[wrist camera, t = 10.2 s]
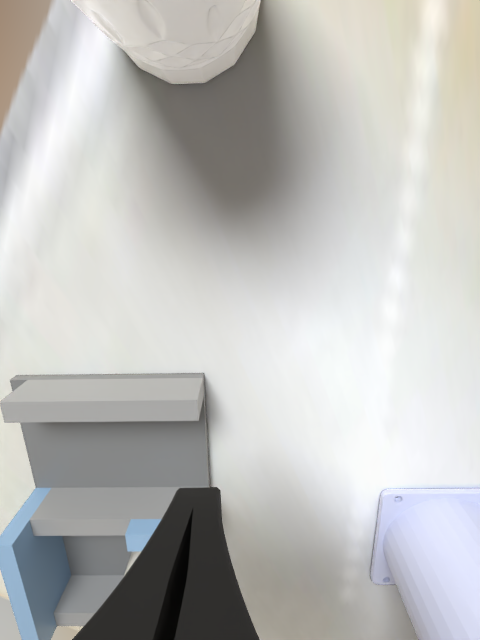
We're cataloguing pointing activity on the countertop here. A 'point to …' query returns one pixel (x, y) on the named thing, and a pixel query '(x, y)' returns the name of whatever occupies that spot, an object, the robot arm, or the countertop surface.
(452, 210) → the countertop surface
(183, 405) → the grey and blue rack
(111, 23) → the white cup
